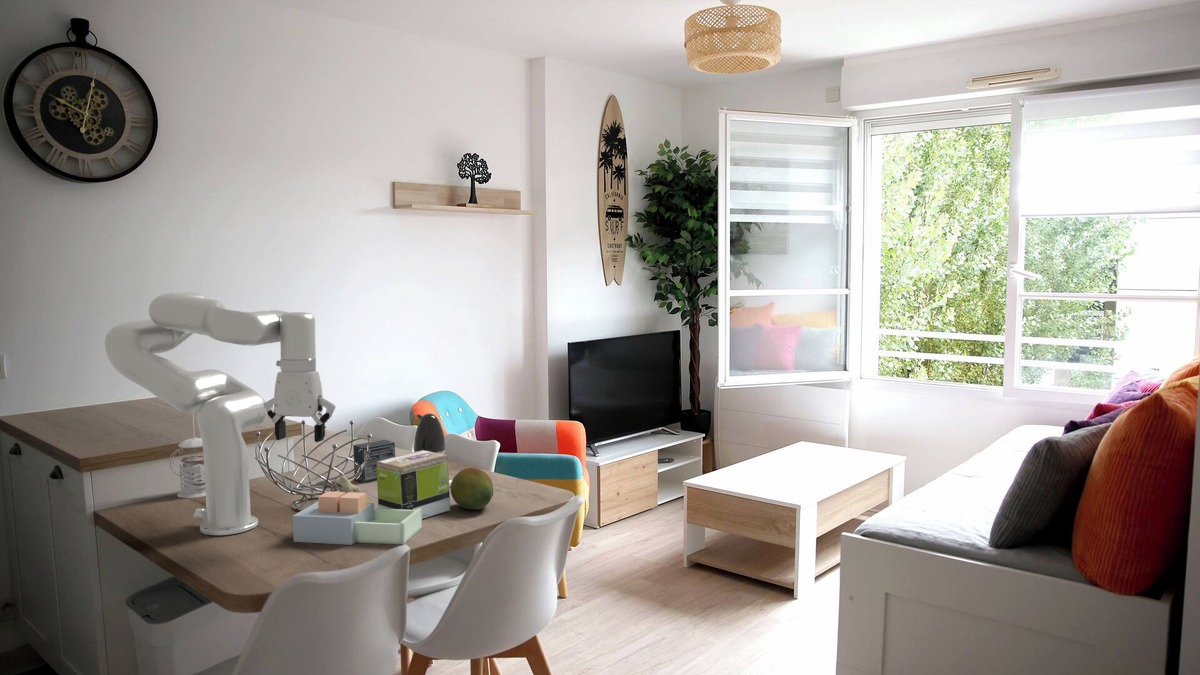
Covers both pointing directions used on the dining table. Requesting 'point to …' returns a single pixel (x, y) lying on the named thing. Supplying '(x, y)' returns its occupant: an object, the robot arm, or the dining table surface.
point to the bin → (389, 526)
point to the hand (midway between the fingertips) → (300, 439)
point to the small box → (372, 458)
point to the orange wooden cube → (329, 501)
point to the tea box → (414, 483)
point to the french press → (191, 470)
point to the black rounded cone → (429, 435)
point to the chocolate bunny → (346, 485)
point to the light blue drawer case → (328, 525)
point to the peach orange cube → (353, 502)
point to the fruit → (472, 488)
